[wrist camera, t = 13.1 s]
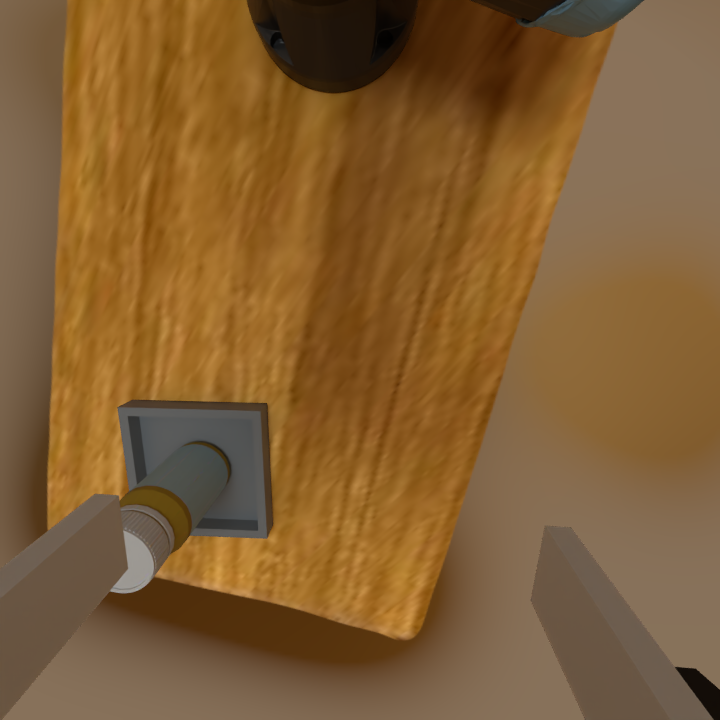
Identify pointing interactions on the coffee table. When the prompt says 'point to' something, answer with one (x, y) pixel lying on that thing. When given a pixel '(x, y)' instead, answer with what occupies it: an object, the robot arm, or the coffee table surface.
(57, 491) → the coffee table surface
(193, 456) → the bottle
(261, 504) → the tray
